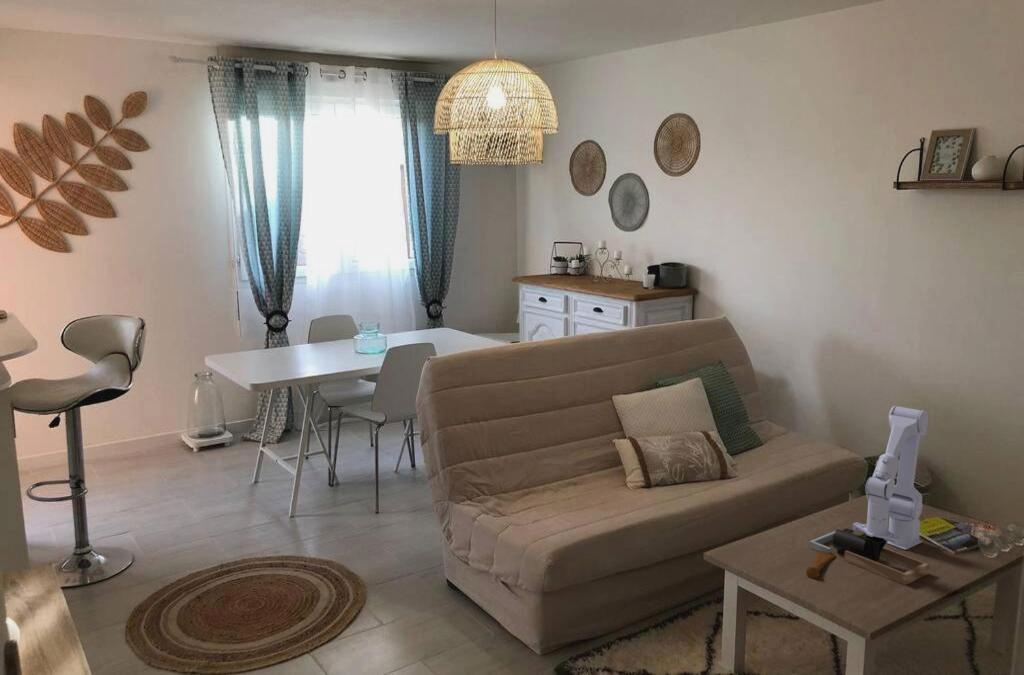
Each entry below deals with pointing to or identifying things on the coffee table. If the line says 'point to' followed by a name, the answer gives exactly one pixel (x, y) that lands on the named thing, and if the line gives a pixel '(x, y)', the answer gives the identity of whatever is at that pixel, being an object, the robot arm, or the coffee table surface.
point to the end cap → (850, 542)
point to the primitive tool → (819, 564)
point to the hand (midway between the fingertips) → (874, 559)
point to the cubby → (905, 578)
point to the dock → (819, 541)
